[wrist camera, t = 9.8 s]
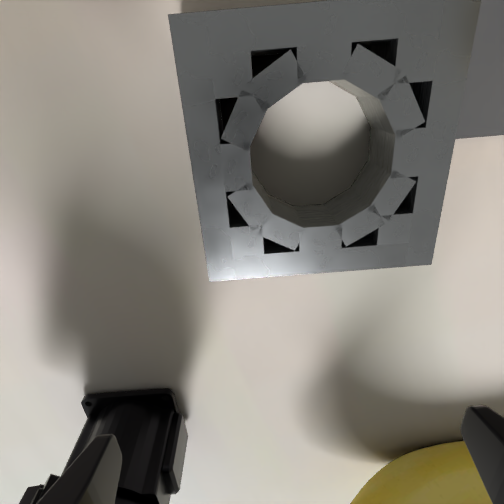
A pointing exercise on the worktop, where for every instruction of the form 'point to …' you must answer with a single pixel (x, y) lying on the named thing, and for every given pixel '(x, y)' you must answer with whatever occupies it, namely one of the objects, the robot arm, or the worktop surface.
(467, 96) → the mat
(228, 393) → the worktop surface
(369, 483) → the banana
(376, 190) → the housing
